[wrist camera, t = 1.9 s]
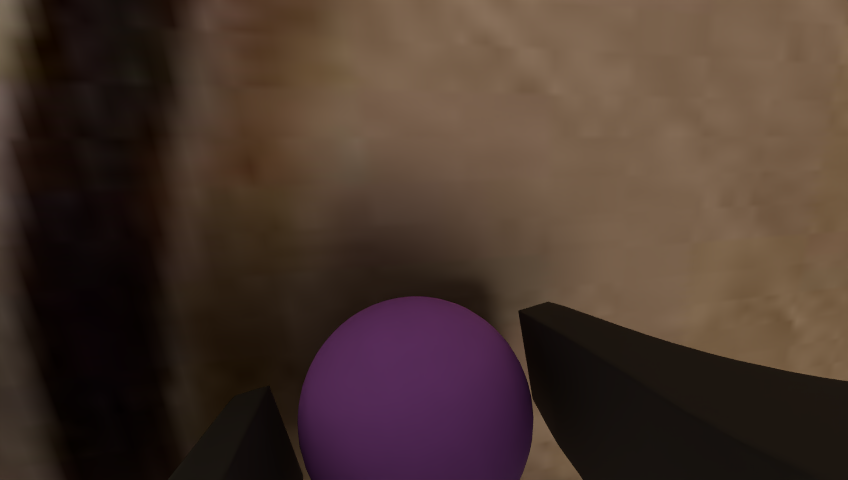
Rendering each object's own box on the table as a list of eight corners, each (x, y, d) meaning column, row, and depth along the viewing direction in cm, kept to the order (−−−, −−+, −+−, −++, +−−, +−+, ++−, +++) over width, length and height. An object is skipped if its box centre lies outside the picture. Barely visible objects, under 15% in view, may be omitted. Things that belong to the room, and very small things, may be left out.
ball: (501, 401, 11) (591, 555, 8) (331, 456, 11) (338, 650, 7) (470, 242, 10) (561, 333, 6) (275, 296, 10) (249, 431, 6)
